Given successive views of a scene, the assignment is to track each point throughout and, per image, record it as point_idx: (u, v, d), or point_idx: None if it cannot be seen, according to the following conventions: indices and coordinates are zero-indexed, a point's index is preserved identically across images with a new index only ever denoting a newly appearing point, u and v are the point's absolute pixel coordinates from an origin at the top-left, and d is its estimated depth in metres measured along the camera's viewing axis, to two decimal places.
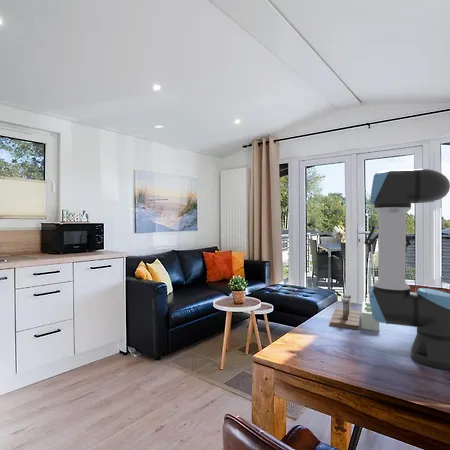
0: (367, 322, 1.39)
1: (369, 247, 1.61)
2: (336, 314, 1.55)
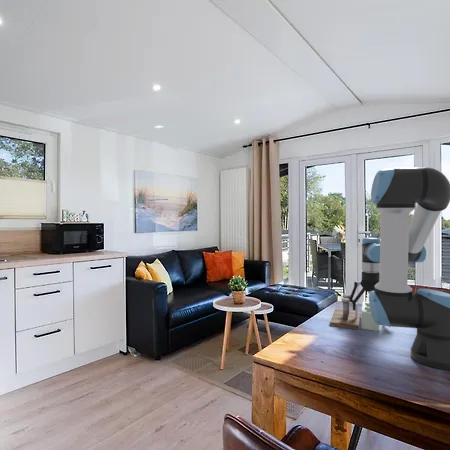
0: (367, 322, 1.39)
1: (353, 305, 1.50)
2: (336, 314, 1.55)
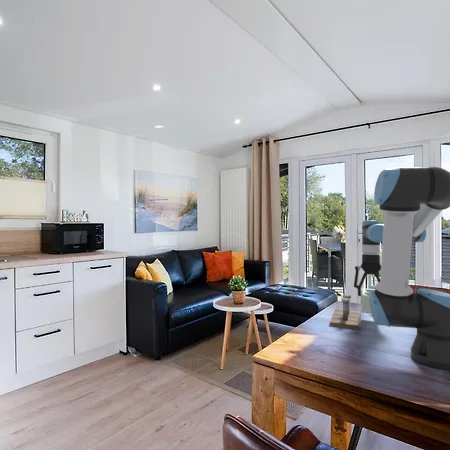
0: (368, 306, 1.38)
1: (359, 291, 1.49)
2: (336, 314, 1.55)
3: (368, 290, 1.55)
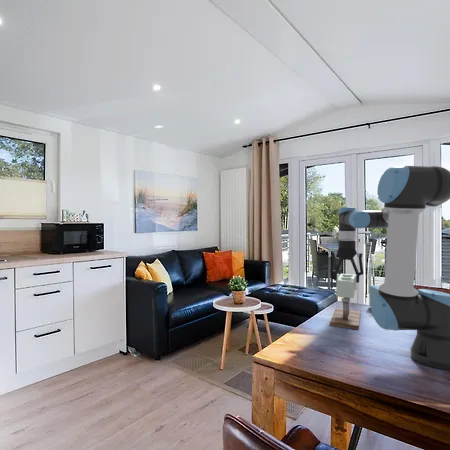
0: (342, 290, 1.42)
1: (335, 276, 1.53)
2: (336, 314, 1.55)
3: (345, 275, 1.59)
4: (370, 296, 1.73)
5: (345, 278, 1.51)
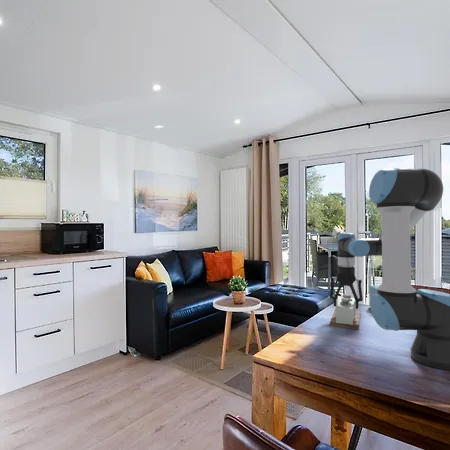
0: (341, 317, 1.42)
1: (334, 301, 1.53)
2: None
3: None
4: (370, 296, 1.73)
5: None
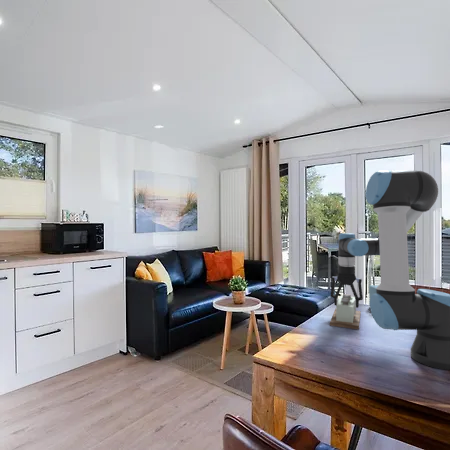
0: (341, 315, 1.45)
1: (335, 300, 1.56)
2: None
3: None
4: (370, 296, 1.73)
5: None
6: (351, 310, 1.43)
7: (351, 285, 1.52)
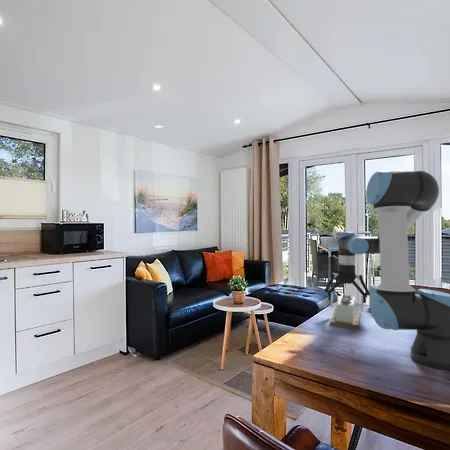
0: (341, 315, 1.45)
1: (329, 295, 1.57)
2: None
3: None
4: (370, 296, 1.73)
5: None
6: (351, 310, 1.43)
7: (353, 283, 1.51)
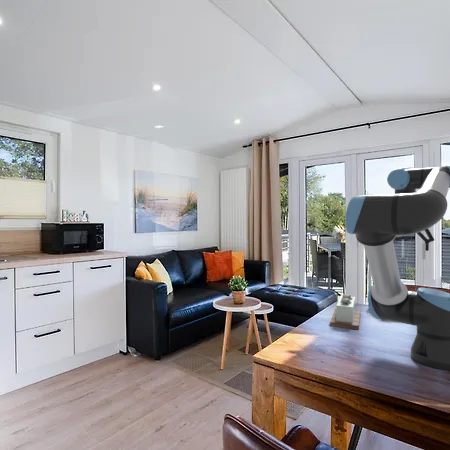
0: (341, 315, 1.45)
1: None
2: None
3: None
4: None
5: None
6: (351, 310, 1.43)
7: None
